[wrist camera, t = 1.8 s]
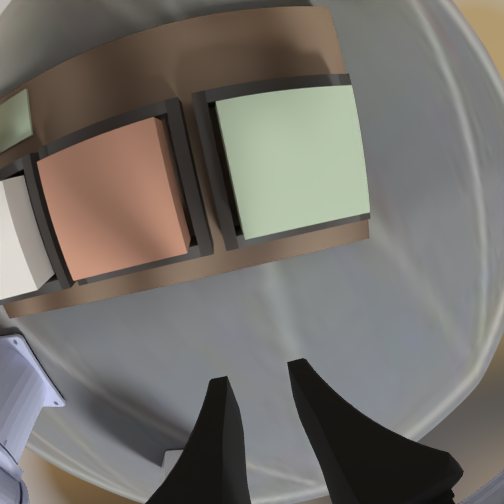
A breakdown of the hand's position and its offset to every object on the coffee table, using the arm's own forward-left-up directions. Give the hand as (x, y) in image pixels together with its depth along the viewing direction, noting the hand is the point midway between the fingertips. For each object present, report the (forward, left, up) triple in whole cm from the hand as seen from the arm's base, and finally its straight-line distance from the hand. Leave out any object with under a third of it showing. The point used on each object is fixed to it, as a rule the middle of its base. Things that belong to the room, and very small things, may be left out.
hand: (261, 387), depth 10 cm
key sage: (+3, +8, -5) cm, 10 cm away
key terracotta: (-5, +7, -5) cm, 10 cm away
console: (-4, +9, -8) cm, 13 cm away
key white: (-13, +8, -5) cm, 16 cm away
